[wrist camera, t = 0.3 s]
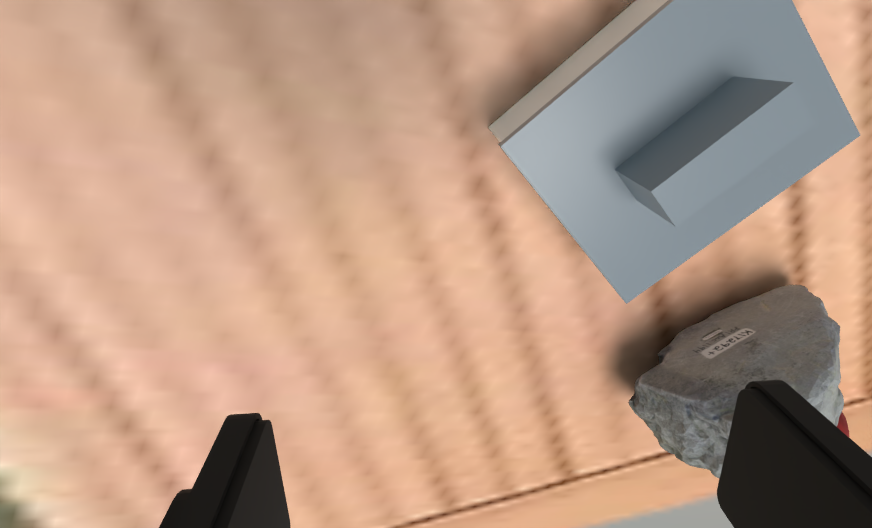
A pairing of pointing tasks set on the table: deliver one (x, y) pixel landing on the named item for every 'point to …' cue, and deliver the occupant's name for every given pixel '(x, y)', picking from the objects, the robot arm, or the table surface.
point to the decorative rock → (738, 370)
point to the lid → (682, 134)
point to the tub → (574, 66)
